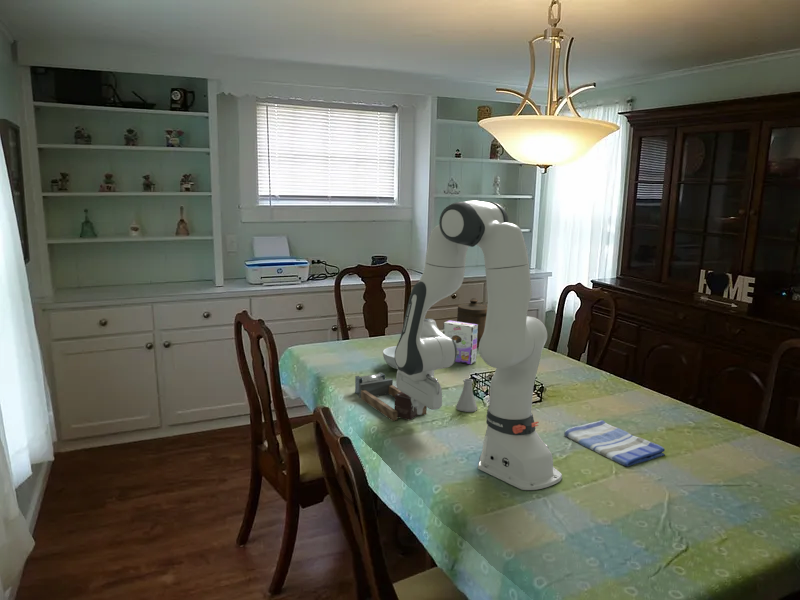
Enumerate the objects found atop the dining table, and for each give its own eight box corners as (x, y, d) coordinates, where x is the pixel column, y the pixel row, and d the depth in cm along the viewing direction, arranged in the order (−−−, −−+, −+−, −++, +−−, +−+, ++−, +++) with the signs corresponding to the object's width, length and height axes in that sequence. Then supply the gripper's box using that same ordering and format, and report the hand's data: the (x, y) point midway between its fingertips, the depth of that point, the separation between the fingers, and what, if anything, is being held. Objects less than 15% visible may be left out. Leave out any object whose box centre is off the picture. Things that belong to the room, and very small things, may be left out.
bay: (426, 414, 187) (426, 399, 186) (393, 421, 181) (393, 406, 180) (390, 391, 207) (390, 378, 206) (358, 397, 201) (359, 383, 200)
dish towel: (601, 426, 183) (601, 417, 182) (667, 456, 163) (668, 447, 162) (560, 436, 174) (561, 427, 174) (625, 469, 154) (626, 459, 154)
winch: (385, 390, 208) (385, 374, 207) (359, 395, 202) (359, 379, 201) (380, 387, 211) (380, 371, 210) (354, 392, 206) (354, 375, 205)
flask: (476, 413, 189) (478, 384, 187) (454, 411, 190) (456, 382, 188) (478, 405, 196) (479, 377, 194) (456, 403, 197) (458, 375, 195)
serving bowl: (444, 370, 233) (444, 354, 232) (401, 379, 221) (401, 361, 220) (414, 357, 250) (414, 342, 249) (372, 365, 238) (373, 348, 237)
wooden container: (493, 344, 276) (495, 298, 272) (474, 349, 265) (477, 302, 261) (468, 338, 286) (470, 294, 282) (449, 343, 275) (451, 297, 271)
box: (409, 420, 182) (410, 398, 180) (393, 416, 185) (394, 394, 183) (419, 414, 187) (420, 393, 185) (403, 410, 190) (404, 389, 188)
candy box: (476, 361, 246) (478, 324, 243) (470, 365, 241) (472, 326, 238) (447, 356, 253) (449, 319, 250) (441, 359, 249) (443, 321, 245)
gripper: (448, 379, 169) (445, 423, 171) (410, 359, 185) (408, 400, 188) (430, 382, 165) (428, 427, 168) (393, 362, 182) (391, 403, 185)
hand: (417, 412), depth 178 cm, fingers closed
